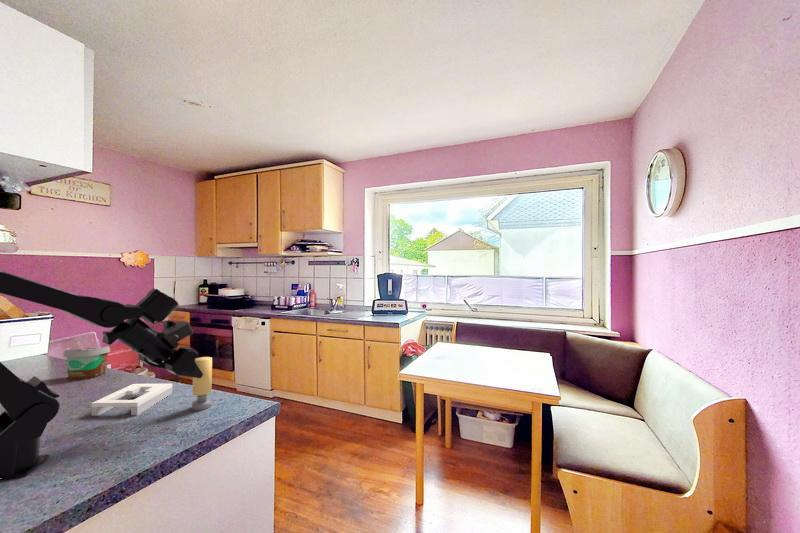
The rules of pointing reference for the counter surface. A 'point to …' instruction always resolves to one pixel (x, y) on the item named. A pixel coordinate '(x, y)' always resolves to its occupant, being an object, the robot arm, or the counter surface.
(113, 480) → the counter surface
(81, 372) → the food container
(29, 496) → the counter surface
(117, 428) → the counter surface
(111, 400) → the keyhole plate
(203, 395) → the headed peg
